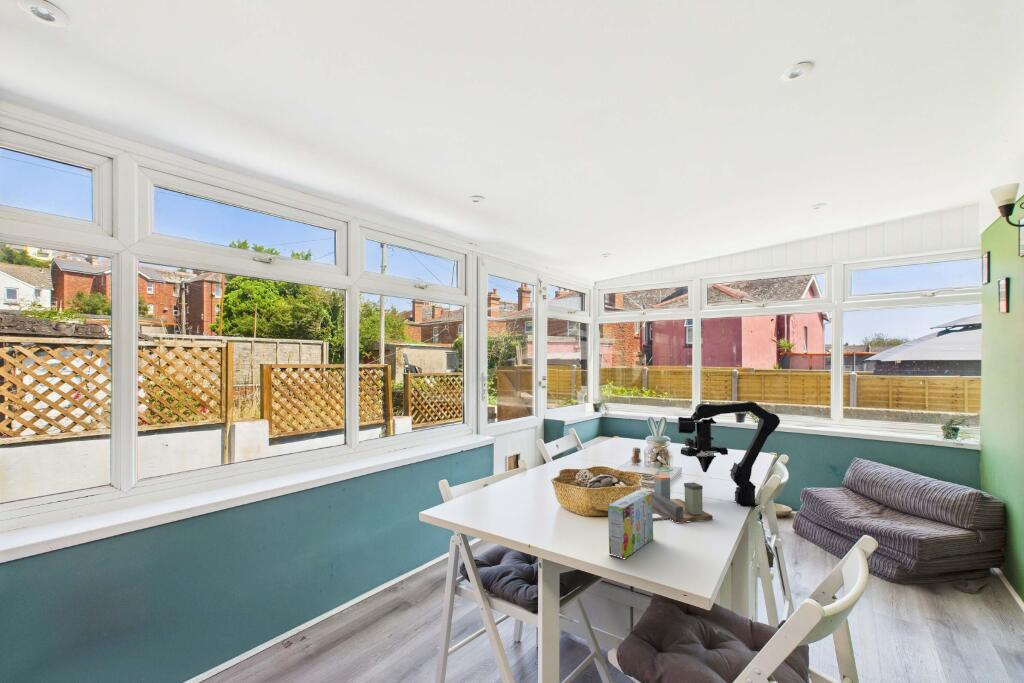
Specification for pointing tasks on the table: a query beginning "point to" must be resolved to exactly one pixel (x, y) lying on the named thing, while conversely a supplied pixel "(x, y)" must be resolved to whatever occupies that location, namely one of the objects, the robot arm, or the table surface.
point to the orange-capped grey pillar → (662, 485)
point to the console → (675, 509)
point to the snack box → (630, 523)
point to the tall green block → (693, 498)
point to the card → (658, 515)
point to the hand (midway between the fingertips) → (704, 472)
